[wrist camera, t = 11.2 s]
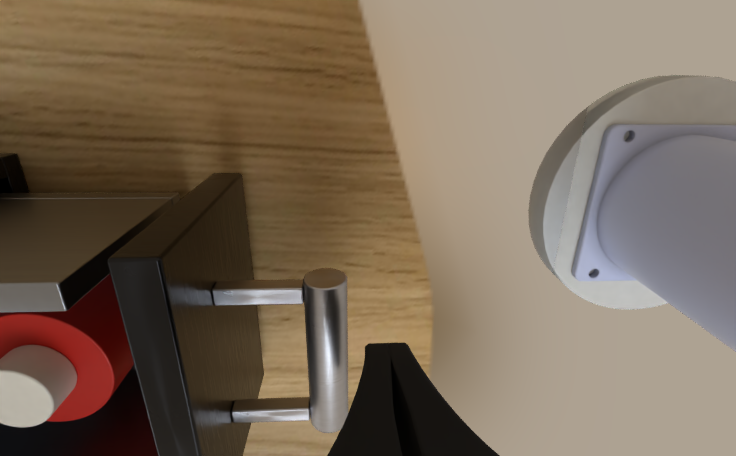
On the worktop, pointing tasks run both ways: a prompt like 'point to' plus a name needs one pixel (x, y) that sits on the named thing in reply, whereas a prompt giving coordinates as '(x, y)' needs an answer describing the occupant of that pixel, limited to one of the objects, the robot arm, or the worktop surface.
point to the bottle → (62, 360)
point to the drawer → (169, 318)
